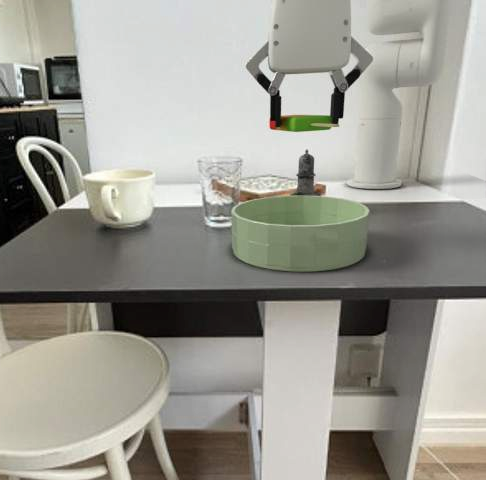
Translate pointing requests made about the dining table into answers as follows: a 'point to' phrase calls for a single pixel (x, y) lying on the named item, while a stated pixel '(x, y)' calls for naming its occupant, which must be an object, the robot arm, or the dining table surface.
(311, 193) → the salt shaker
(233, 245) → the bowl
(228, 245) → the dining table surface
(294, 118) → the popsicle
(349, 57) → the robot arm
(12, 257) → the dining table surface
